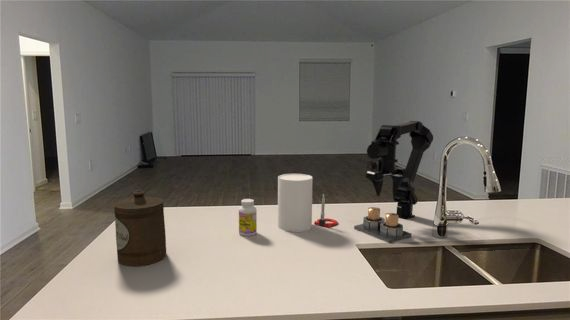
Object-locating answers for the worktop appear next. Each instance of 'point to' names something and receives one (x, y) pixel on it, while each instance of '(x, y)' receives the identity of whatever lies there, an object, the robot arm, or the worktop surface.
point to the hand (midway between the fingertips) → (386, 194)
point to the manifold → (384, 228)
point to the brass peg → (373, 214)
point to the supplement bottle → (247, 218)
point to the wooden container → (140, 230)
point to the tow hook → (322, 221)
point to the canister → (295, 202)
